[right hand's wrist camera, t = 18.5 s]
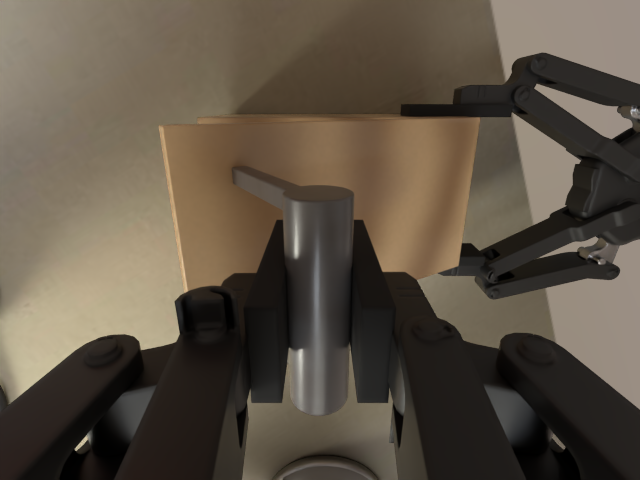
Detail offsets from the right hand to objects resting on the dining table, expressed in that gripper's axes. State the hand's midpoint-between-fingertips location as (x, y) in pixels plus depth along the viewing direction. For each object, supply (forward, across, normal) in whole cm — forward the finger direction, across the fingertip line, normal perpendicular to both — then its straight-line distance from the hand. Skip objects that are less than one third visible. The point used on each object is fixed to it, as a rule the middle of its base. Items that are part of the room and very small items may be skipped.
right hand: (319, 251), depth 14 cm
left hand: (+12, -6, 0) cm, 13 cm away
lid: (+5, -2, 0) cm, 5 cm away
